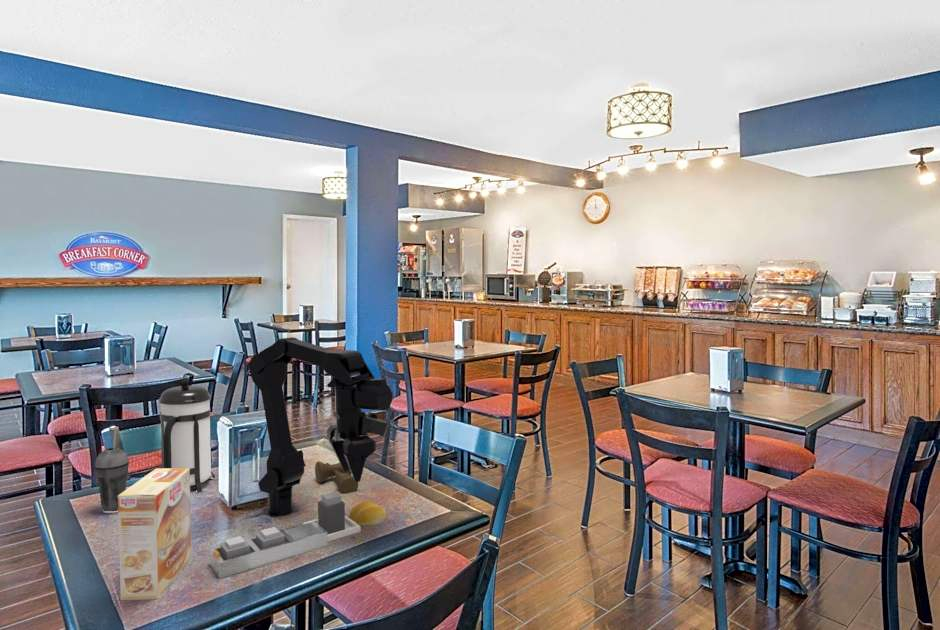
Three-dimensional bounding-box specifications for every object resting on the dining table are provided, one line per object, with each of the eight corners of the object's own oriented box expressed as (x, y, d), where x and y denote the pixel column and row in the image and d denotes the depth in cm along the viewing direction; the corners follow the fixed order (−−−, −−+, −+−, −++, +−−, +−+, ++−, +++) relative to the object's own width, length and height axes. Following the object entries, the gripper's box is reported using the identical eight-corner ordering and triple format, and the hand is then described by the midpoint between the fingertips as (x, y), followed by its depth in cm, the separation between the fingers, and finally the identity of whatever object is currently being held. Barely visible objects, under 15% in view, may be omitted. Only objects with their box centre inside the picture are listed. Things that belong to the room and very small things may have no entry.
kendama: (332, 500, 151) (310, 475, 168) (366, 494, 156) (342, 471, 173) (332, 478, 151) (310, 455, 168) (367, 473, 156) (342, 451, 173)
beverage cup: (88, 513, 140) (86, 432, 139) (117, 502, 147) (114, 425, 145) (109, 518, 137) (106, 435, 136) (137, 507, 144) (135, 428, 143)
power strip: (209, 566, 115) (209, 546, 115) (313, 536, 129) (313, 518, 129) (219, 581, 110) (219, 560, 109) (327, 547, 123) (327, 529, 123)
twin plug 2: (256, 553, 120) (255, 530, 119) (277, 547, 122) (276, 524, 122) (263, 562, 116) (263, 537, 116) (284, 555, 119) (284, 531, 119)
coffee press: (144, 486, 158) (141, 378, 156) (204, 472, 170) (202, 371, 168) (166, 504, 146) (163, 387, 144) (229, 488, 158) (227, 379, 156)
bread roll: (363, 532, 132) (363, 515, 132) (344, 519, 139) (344, 503, 138) (394, 522, 137) (394, 505, 137) (374, 510, 144) (374, 494, 144)
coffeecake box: (160, 601, 103) (157, 494, 101) (118, 603, 102) (114, 495, 101) (193, 560, 118) (191, 466, 116) (157, 561, 117) (154, 467, 116)
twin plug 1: (220, 564, 115) (220, 539, 115) (243, 557, 118) (242, 533, 118) (227, 572, 112) (226, 547, 111) (250, 566, 115) (250, 541, 114)
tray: (302, 530, 132) (302, 522, 132) (341, 519, 138) (341, 512, 138) (320, 546, 124) (320, 537, 124) (360, 534, 130) (360, 526, 130)
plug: (318, 528, 131) (318, 494, 131) (336, 523, 134) (336, 490, 134) (326, 535, 128) (326, 500, 127) (344, 530, 131) (344, 496, 130)
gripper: (397, 409, 125) (400, 480, 126) (370, 397, 141) (373, 459, 142) (346, 416, 120) (349, 490, 120) (325, 402, 136) (328, 467, 137)
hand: (351, 475), depth 130 cm, fingers open, 9 cm apart
